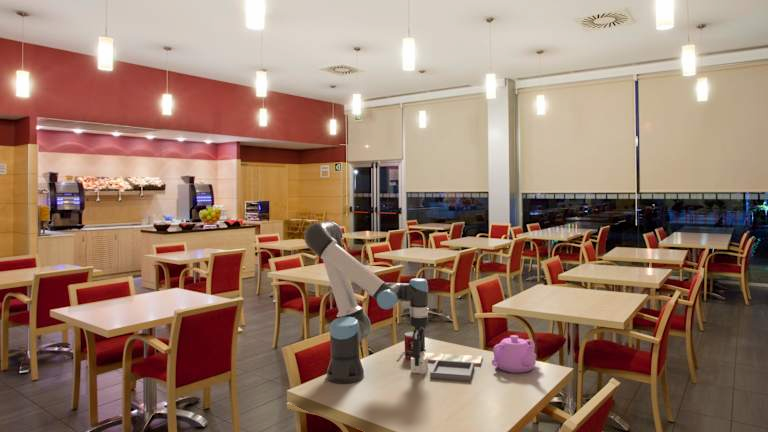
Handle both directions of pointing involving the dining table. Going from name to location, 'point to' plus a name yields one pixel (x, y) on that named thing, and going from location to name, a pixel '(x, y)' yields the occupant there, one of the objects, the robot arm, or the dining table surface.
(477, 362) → the board
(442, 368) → the dice tray
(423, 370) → the cream cube
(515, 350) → the teapot
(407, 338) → the canned food
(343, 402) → the dining table surface
